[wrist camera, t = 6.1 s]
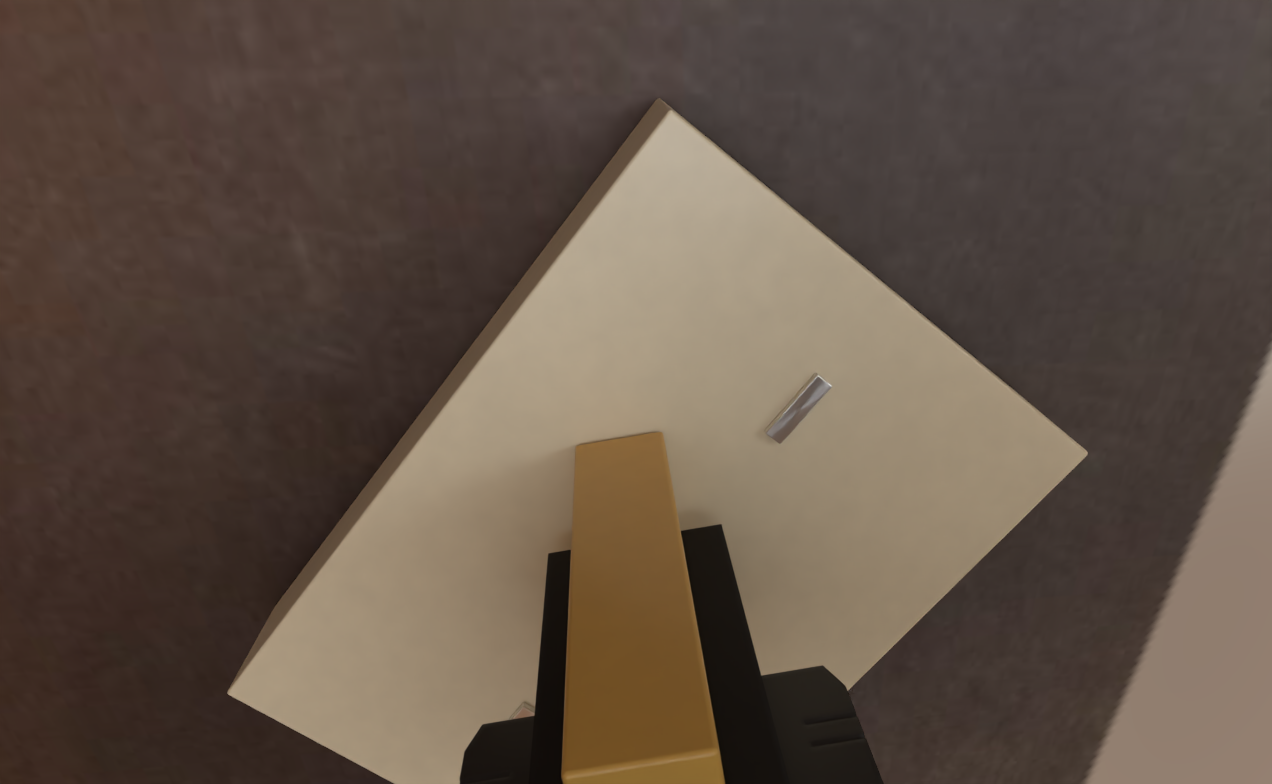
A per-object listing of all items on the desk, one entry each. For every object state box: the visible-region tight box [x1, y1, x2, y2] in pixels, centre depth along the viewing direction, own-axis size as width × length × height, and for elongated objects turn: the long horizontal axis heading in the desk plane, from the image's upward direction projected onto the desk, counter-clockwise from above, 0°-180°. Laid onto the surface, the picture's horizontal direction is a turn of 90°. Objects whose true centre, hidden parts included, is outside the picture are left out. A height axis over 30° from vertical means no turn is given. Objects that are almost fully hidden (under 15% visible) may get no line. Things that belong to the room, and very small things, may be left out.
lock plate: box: [228, 98, 1088, 784], centre depth 19 cm, size 14×10×3 cm
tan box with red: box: [561, 432, 725, 784], centre depth 14 cm, size 6×2×8 cm, turn 9°
